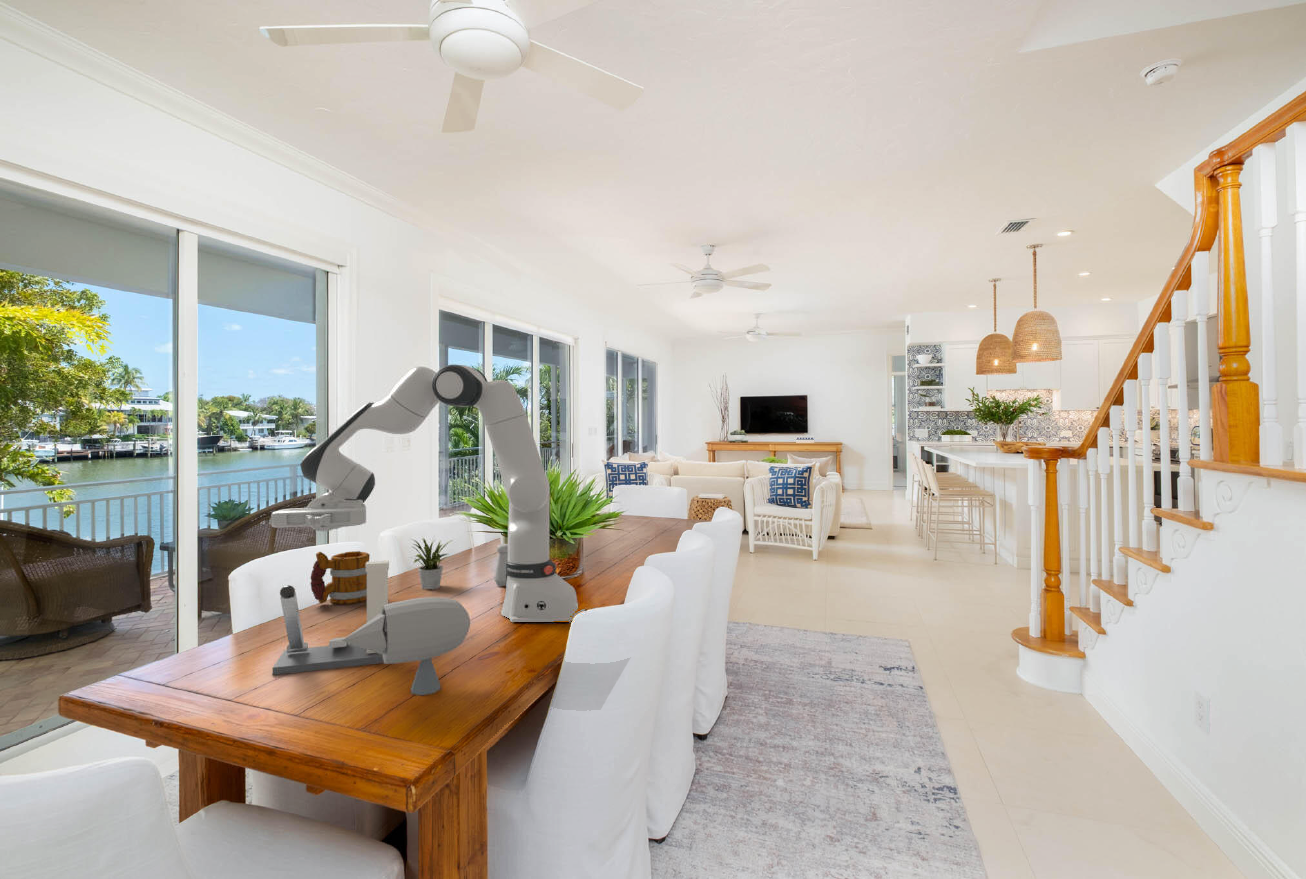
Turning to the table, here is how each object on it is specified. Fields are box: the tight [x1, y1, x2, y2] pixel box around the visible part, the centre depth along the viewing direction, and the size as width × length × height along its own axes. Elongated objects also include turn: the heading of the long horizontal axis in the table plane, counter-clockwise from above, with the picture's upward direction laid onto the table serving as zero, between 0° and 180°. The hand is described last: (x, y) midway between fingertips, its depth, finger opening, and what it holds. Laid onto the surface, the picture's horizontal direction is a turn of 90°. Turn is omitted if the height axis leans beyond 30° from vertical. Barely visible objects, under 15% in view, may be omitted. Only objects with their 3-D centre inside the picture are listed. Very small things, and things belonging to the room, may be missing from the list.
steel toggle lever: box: [279, 585, 309, 653], centre depth 124 cm, size 3×4×19 cm
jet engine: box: [341, 596, 471, 696], centre depth 114 cm, size 15×20×18 cm
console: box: [272, 643, 385, 676], centre depth 129 cm, size 10×22×2 cm, turn 110°
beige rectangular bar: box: [366, 560, 390, 653], centre depth 129 cm, size 2×4×19 cm, turn 109°
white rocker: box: [328, 636, 350, 648], centre depth 131 cm, size 5×3×1 cm, turn 20°
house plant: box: [408, 536, 453, 590], centre depth 186 cm, size 14×14×16 cm
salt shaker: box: [493, 543, 508, 587], centre depth 190 cm, size 6×6×13 cm
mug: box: [309, 550, 371, 605], centre depth 171 cm, size 11×16×15 cm, turn 140°
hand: (315, 521), depth 139 cm, fingers closed
